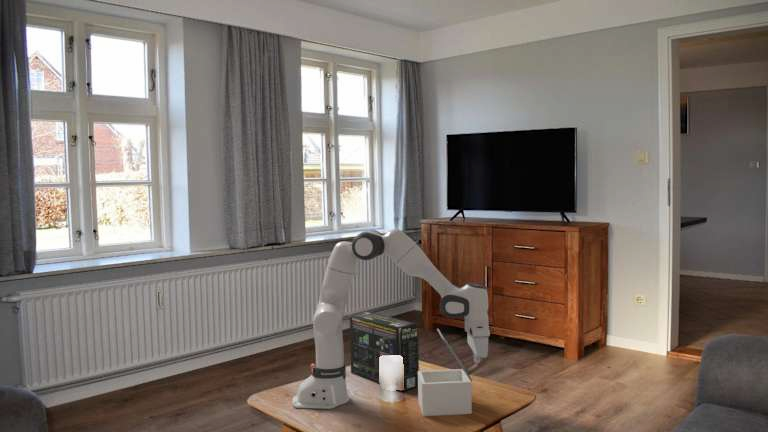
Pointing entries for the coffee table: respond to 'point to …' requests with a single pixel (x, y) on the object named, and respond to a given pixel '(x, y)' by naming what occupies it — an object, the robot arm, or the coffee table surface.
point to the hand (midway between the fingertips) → (477, 362)
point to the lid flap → (468, 371)
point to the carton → (444, 392)
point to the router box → (383, 345)
